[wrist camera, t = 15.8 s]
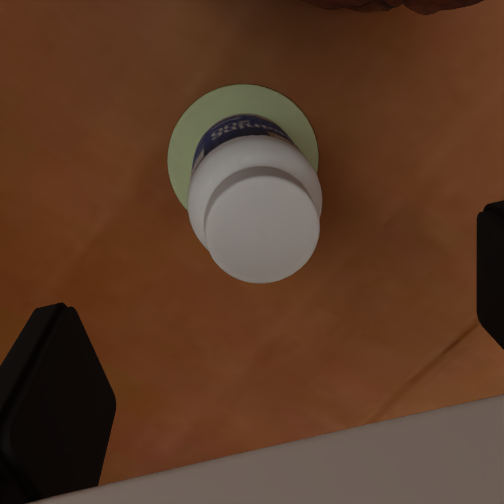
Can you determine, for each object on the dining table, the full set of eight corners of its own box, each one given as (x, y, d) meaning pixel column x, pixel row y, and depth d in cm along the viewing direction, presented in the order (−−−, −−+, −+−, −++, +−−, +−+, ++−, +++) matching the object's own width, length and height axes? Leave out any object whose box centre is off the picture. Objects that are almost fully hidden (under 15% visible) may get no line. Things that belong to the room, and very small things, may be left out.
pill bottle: (305, 121, 24) (360, 169, 15) (282, 218, 26) (319, 309, 17) (200, 101, 23) (195, 140, 15) (186, 203, 25) (174, 290, 17)
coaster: (148, 104, 24) (147, 105, 23) (304, 67, 23) (305, 67, 23) (190, 246, 27) (190, 248, 27) (327, 214, 27) (328, 216, 26)
